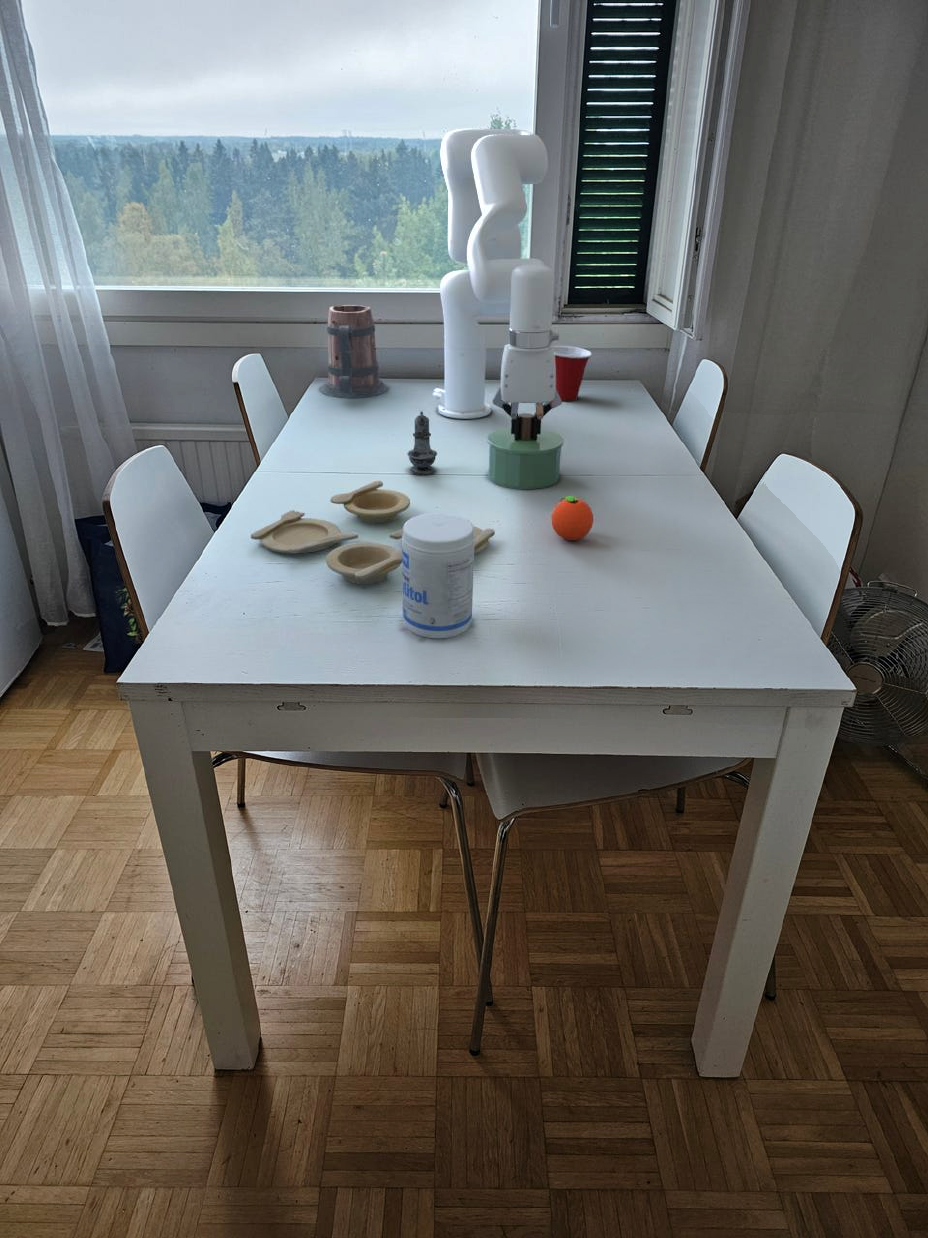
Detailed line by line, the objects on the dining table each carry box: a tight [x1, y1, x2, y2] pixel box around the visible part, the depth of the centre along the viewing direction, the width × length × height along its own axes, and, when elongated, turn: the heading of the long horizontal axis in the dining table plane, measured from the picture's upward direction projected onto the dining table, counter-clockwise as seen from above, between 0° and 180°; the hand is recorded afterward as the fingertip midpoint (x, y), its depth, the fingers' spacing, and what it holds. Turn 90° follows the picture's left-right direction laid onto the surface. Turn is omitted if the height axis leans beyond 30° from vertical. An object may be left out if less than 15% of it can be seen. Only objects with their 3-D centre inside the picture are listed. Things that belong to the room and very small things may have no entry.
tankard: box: [320, 304, 388, 399], centre depth 216 cm, size 24×17×20 cm
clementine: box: [550, 495, 594, 541], centre depth 144 cm, size 8×7×7 cm
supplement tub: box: [401, 512, 475, 639], centre depth 117 cm, size 10×10×15 cm
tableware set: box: [250, 480, 496, 585], centre depth 142 cm, size 35×29×4 cm
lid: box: [486, 412, 565, 454], centre depth 165 cm, size 15×15×6 cm
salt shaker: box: [406, 410, 438, 476], centre depth 169 cm, size 6×6×12 cm
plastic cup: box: [553, 345, 592, 402], centre depth 216 cm, size 11×11×12 cm
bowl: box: [488, 444, 562, 490], centre depth 168 cm, size 14×14×7 cm
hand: (525, 436), depth 166 cm, fingers closed on lid, 2 cm apart
